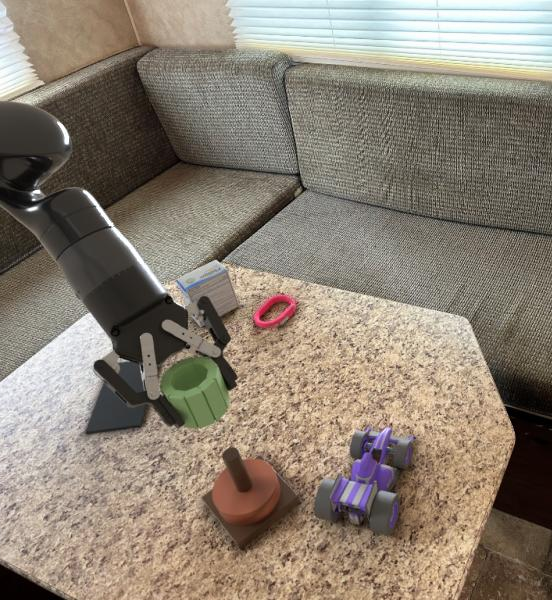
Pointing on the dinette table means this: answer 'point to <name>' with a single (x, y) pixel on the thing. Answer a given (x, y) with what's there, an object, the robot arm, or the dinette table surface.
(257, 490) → the stand
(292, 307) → the fitness band
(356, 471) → the toy race car
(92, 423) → the mat
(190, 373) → the green ring
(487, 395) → the dinette table surface
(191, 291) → the medicine box
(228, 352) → the dinette table surface
